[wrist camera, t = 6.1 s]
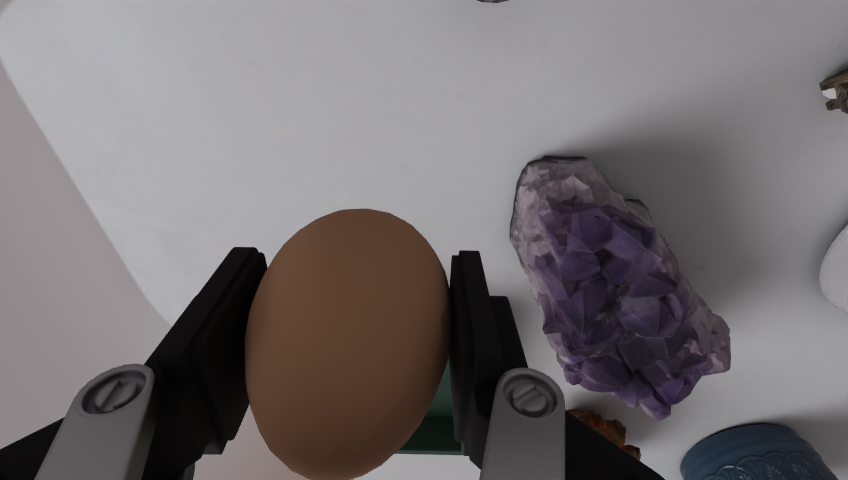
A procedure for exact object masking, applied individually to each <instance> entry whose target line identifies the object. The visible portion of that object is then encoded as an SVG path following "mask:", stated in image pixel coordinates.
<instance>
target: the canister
mask: <svg viewBox="0 0 848 480" xmlns="http://www.w3.org/2000/svg"><path fill="white" fill-rule="evenodd" d="M680 472H681V475H682V477H683V480H838V479H837V477H836V476H835V475H834V474H833V473H832V472H831V470H830V469H829V468H828V467H827V466H826V465H825V463H824V462H823V460H822V458H821V456H820V455H819V453H818V452H817V451H815V449H814V448H813V447H812V445H811V444H809V443H808V442H807V441H805V440H804V439H802V438H801V437H800V436H799V435H798V434H797V433H796V432H795V431H793V430H791V429H789V428H786V427H783V426H778V425H769V424H756V425H747V426H741V427H736V428H732V429H729V430H726V431H723V432H720V433H717V434H715V435H713V436H711V437H709V438H707V439H705V440H703V441H702V442H700V443H698V444H697V445H696V446H694V447H693V448H692V449H691V450H690V451H689V452H688V453H687V454H686V456H685V457H684V459H683V460H682V462H681V466H680Z"/></svg>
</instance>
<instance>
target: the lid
mask: <svg viewBox="0 0 848 480" xmlns="http://www.w3.org/2000/svg"><path fill="white" fill-rule="evenodd" d="M819 283H820V288H821V291H822V293H823V295H824V296H825V298H826V299H827V300H828V301H829V302H830V303H831V304H833V305H834V306H835V307H837V308H839V309H841V310H843V311H845V312H848V225H847V226H846V227H845V228H844V229H843V230H842V231H841V232H840V234H839V235H838V236H837V237H836V239H835V240H834V241H833V243H832V244H831V246H830V248H829V249H828V251H827V253H826V255H825V257H824V259H823V262H822V265H821V269H820V275H819Z"/></svg>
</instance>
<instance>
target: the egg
mask: <svg viewBox="0 0 848 480" xmlns="http://www.w3.org/2000/svg"><path fill="white" fill-rule="evenodd" d="M452 325H453V322H452V310H451V298H450V289H449V285H448V281H447V277H446V273H445V271H444V268H443V266H442V264H441V262H440V260H439V258H438V257H437V255H436V253H435V251H434V250H433V248H432V247H431V246H430V244H429V243H428V241H427V240H426V239H425V238H424V237H423V236H422V235H421V234H420V233H419V232H418V231H417V230H416V229H415V228H414V227H413V226H412V225H410V224H409V223H407V222H406V221H404V220H402V219H400V218H398V217H396V216H394V215H392V214H390V213H387V212H382V211H377V210H371V209H348V210H340V211H336V212H333V213H331V214H328V215H326V216H323V217H321V218H318V219H316V220H315V221H313V222H311V223H310V224H308V225H307V226H305V227H304V228H302V229H300V230H299V231H298V232H297V233H296V234H295V235H294V236H292V237H291V238H290V239H289V240H288V241H287V242H286V243H285V244H284V245H283V246H282V248H281V249H280V250H279V252H278V253H277V254H276V256H275V257H274V259H273V261H272V262H271V264H270V266H269V267H268V269H267V270H266V272H265V274H264V276H263V278H262V280H261V282H260V285H259V287H258V290H257V292H256V295H255V297H254V300H253V302H252V305H251V308H250V312H249V317H248V322H247V328H246V334H245V375H246V389H247V393H248V398H249V402H250V407H251V410H252V413H253V415H254V418H255V421H256V424H257V426H258V429H259V432H260V433H261V435H262V437H263V439H264V441H265V442H266V444H267V446H268V448H269V449H270V451H271V452H272V453H273V454H274V455H275V456H277V457H278V458H279V459H280V460H281V461H282V462H283V463H284V464H285V465H286V466H287V467H288V468H289V469H291V471H293V472H295V473H298V474H300V475H302V476H304V477H306V478H308V479H310V480H349V479H353V478H357V477H360V476H363V475H365V474H366V473H368V472H370V471H372V470H373V469H375V468H377V467H379V466H381V465H382V464H383V463H384V462H385V461H387V460H388V459H389V458H390V457H391V456H392V455H393V454H394V453H395V452H396V451H398V450H399V449H400V448H401V447H402V446H403V445H404V444H405V443H406V442H407V441H408V440H409V438H410V437H411V436H412V434H413V433H414V432H415V431H416V429H417V428H418V427H419V425H420V424H421V422H422V420H423V418H424V416H425V414H426V413H427V411H428V409H429V407H430V405H431V403H432V401H433V399H434V397H435V394H436V392H437V390H438V387H439V385H440V382H441V379H442V376H443V373H444V370H445V368H446V365H447V362H448V359H449V351H450V343H451V334H452Z"/></svg>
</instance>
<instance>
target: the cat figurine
mask: <svg viewBox="0 0 848 480" xmlns="http://www.w3.org/2000/svg"><path fill="white" fill-rule="evenodd" d="M819 84H820V87H821V90H822V93H823V96H825V97H827V98H829V99H831V100H830V101H828V102H827V103H826V106H827V109H828V110H833V109H838V108H841V111H843V112H845V113H847V114H848V69H846V70H844V71H842V72H840V73H838V74H836V75H834V76H830V77H828V78H826V79H825V80H823V81H822V82H821V83H819Z"/></svg>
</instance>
